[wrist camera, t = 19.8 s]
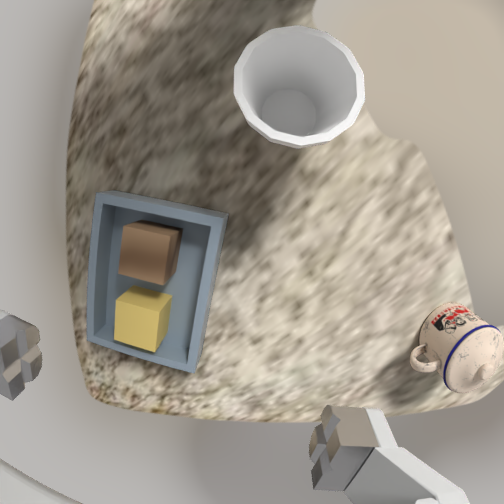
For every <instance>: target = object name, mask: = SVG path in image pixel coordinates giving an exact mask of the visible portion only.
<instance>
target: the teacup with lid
mask: <svg viewBox="0 0 504 504" xmlns="http://www.w3.org/2000/svg"><path fill="white" fill-rule="evenodd" d="M419 343H420V346H418V347H416V348H415V349H413V351H412V352H411V355H410V364H411V366H412V368H413V369H414V370H416V371H418V372H423V373H428V372H433V371H436V370H437V371H438V373H439V374H440V375H441V376H442V378H443V379H444V383H445V385H446V386H447V387H448V389H450V390H451V391H454V392H456V393H468V392H471V391H473V390H476V389H477V388H479V387H481V386H482V385H483V384H484V383H486V382H487V381H488V380H489V379H490V378H491V376H492V375H493V374H494V373H495V371H496V370H497V368H498V366H499V364H500V362H501V359H502V356H503V352H504V340H503V337H502V335H501V332H500V331H499V330H498V329H497V328H496V327H494V326H492V325H489V324H488V323H486V322H485V321H484V320H482V319H481V318H480V317H478V316H477V315H476V314H474V313H473V312H472V311H470V310H469V309H468V308H466V307H465V306H464V305H462V304H460V303H456V302H451V303H446V304H444V305H442V306H440V307H438V308H437V309H435V310H434V311H433V312H432V313H431V314H430V315H429V316H428V318H427V319H426V321H425V322H424V324H423V326H422V329H421V332H420V337H419ZM421 354H424V355H425V356H426V357H427V359H428V360H429V361H430V363H423V362H419V361H418V360H417V359H416V357H417V356H419V355H421Z"/></svg>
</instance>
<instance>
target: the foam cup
mask: <svg viewBox="0 0 504 504" xmlns="http://www.w3.org/2000/svg"><path fill="white" fill-rule="evenodd" d="M234 96H235V98H236V101H237V103H238V105H239V107H240V109H241V111H242V113H243V115H244V117H245V119H246V121H247V123H248V125H249V126H251V127H252V128H253V129H254V130H256V131H257V132H258V133H260V134H261V135H262V136H264V137H265V138H266V139H267V140H269V141H270V142H273V143H277V144H281V145H285V146H289V147H293V148H297V149H300V148H305V147H310V146H316V145H322V144H326V143H327V142H329V141H331V140H332V139H333V138H335V137H336V136H338V135H339V134H340V133H342V132H343V131H344V130H346V129H347V128H349V127H350V126H351V125H353V124H354V122H355V120H356V118H357V116H358V114H359V111H360V109H361V107H362V105H363V103H364V101H365V90H364V74H363V71H362V70H361V68H360V66H359V64H358V62H357V61H356V59H355V57H354V55H353V54H352V52H351V50H350V49H349V48H348V47H346V46H345V45H344V44H342V43H341V42H340V41H338V40H337V39H335V38H334V37H333V36H331V35H330V34H329V33H327V32H324V31H321V30H317V29H313V28H309V27H305V26H301V25H295V26H288V27H281V28H275V29H270V30H268V31H267V32H265V33H264V34H262V35H261V36H259V37H257V38H256V39H254V40H253V41H251V42H250V43H248V44H247V46H246V47H245V49H244V51H243V53H242V54H241V56H240V58H239V60H238V61H237V63H236V65H235V67H234Z"/></svg>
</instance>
